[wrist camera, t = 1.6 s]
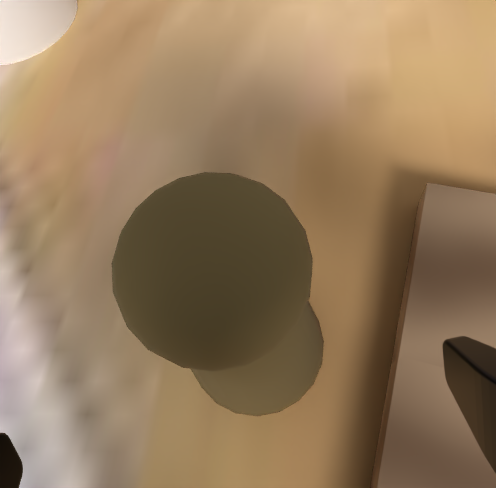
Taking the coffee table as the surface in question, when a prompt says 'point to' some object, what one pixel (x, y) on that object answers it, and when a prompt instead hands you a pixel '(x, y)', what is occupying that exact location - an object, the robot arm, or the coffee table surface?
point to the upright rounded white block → (32, 26)
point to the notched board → (439, 344)
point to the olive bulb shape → (222, 289)
